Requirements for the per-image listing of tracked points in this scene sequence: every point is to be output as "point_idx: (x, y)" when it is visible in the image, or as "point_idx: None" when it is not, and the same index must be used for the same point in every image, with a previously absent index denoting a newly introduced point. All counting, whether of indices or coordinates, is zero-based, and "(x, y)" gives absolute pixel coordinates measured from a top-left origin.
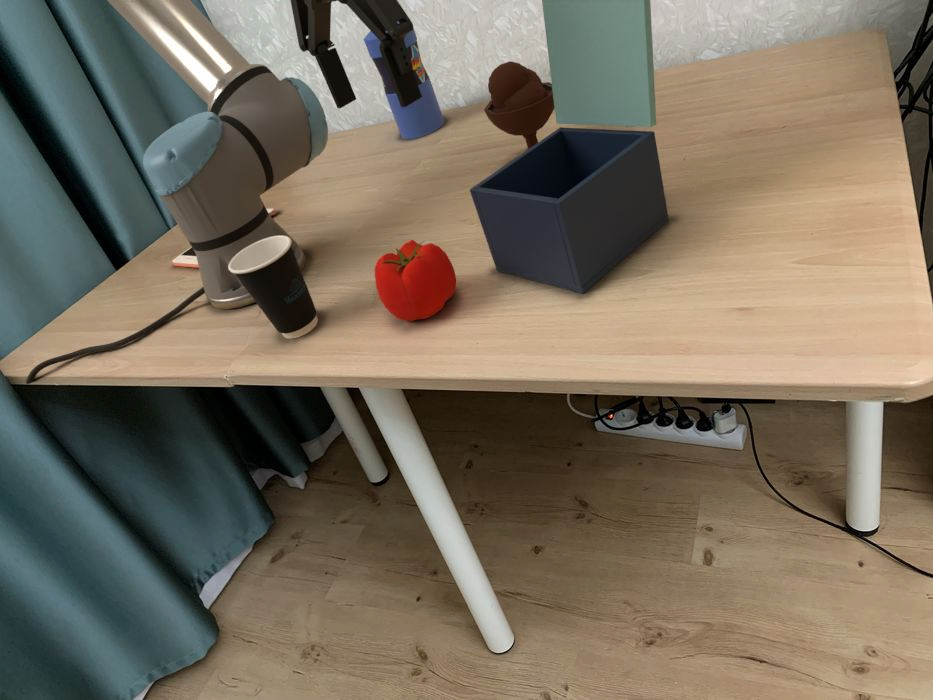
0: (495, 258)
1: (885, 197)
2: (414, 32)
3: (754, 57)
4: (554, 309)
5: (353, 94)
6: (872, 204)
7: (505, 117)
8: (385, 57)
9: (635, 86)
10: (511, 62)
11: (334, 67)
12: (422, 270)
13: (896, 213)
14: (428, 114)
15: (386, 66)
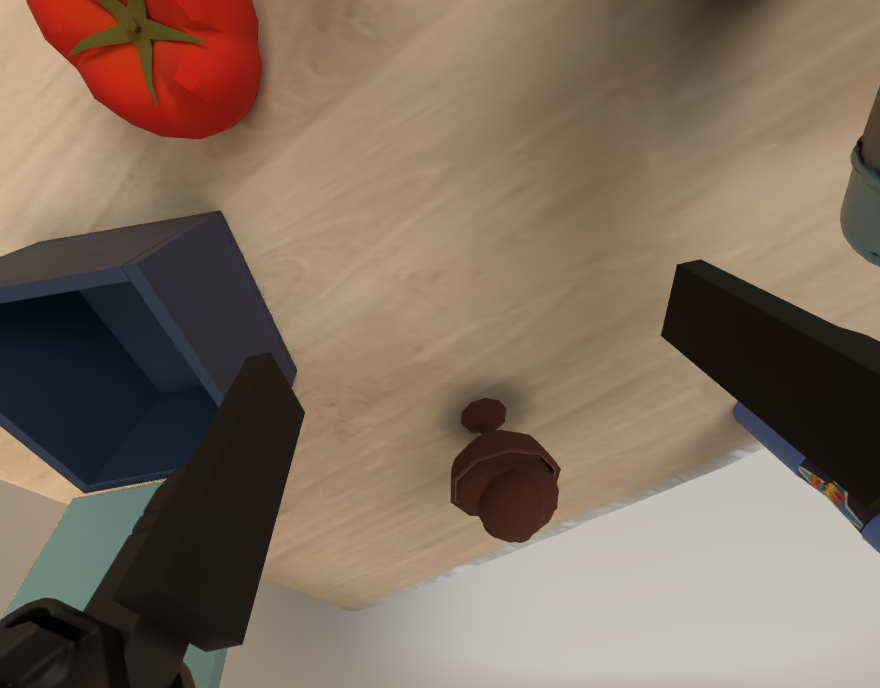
0: (203, 218)
1: (44, 486)
2: (878, 551)
3: (414, 574)
4: (18, 191)
5: (675, 342)
6: (38, 477)
7: (484, 450)
8: (157, 538)
9: (58, 559)
10: (514, 541)
11: (800, 399)
12: (36, 20)
13: (4, 475)
14: (759, 421)
15: (202, 485)
